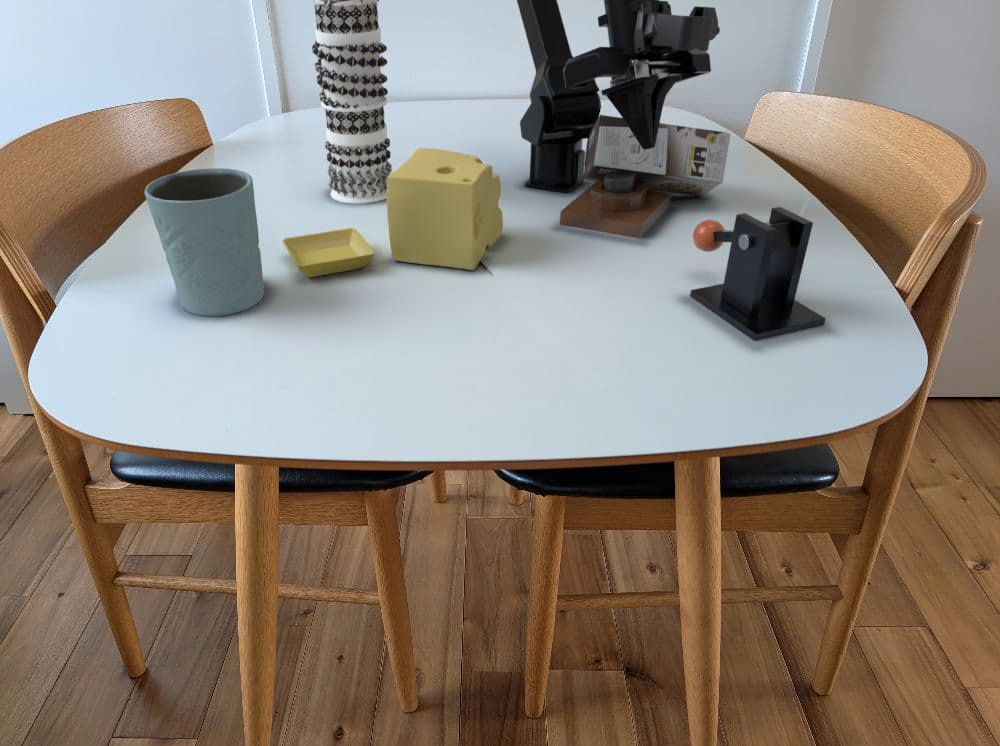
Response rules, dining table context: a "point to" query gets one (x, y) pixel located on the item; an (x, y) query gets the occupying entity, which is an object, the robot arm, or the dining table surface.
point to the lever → (714, 235)
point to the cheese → (443, 209)
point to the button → (618, 182)
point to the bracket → (762, 279)
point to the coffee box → (658, 156)
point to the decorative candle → (353, 98)
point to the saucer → (329, 252)
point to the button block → (616, 210)
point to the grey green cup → (209, 238)
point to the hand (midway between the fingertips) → (648, 148)
